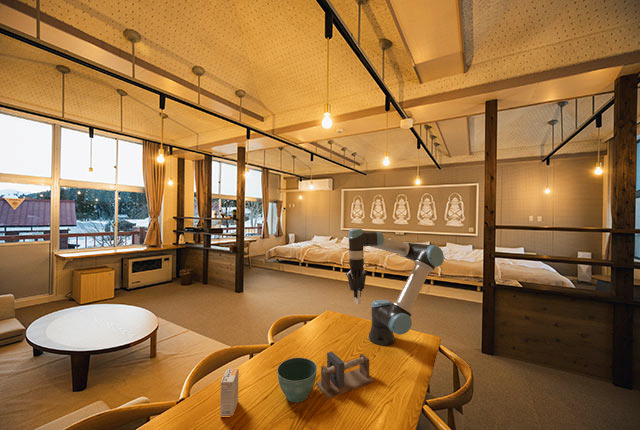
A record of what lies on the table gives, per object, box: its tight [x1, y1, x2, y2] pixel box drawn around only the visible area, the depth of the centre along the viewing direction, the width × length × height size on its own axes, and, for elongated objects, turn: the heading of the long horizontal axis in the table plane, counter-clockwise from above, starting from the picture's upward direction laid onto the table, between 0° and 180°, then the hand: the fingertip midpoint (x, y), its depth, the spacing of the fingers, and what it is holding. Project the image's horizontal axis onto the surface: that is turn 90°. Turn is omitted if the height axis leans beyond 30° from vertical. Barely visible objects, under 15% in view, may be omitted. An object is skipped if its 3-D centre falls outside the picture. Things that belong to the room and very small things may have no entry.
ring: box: [326, 351, 345, 389], centre depth 108 cm, size 2×10×10 cm, turn 28°
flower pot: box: [276, 357, 318, 404], centre depth 103 cm, size 16×16×11 cm
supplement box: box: [219, 368, 240, 417], centre depth 95 cm, size 8×5×13 cm, turn 5°
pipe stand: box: [316, 353, 376, 400], centre depth 111 cm, size 24×10×9 cm, turn 118°
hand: (357, 303), depth 132 cm, fingers closed
